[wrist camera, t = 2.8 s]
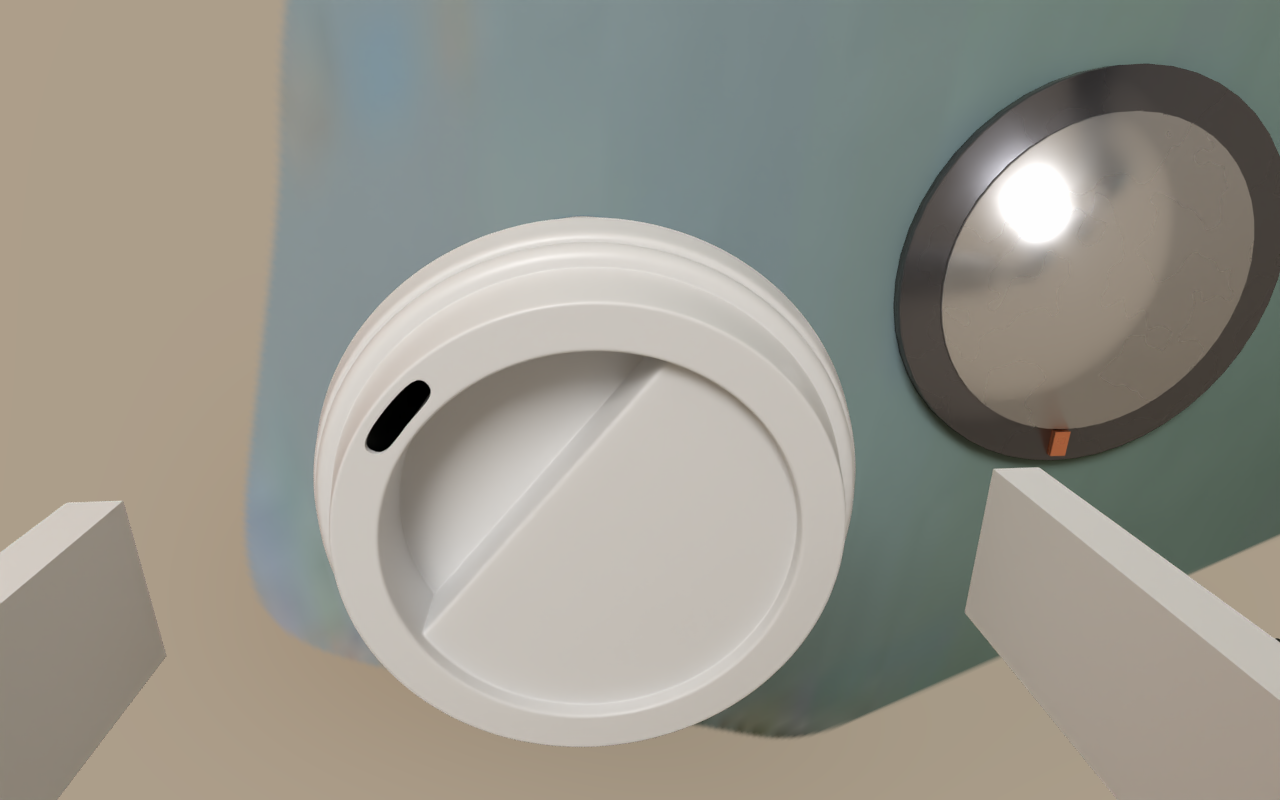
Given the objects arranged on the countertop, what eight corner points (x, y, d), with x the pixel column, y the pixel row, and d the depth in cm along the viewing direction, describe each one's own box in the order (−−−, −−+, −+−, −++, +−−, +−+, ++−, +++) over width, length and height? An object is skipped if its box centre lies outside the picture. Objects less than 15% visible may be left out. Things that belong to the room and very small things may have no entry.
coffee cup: (645, 112, 23) (753, 100, 9) (762, 364, 26) (974, 640, 12) (386, 253, 24) (119, 442, 10) (532, 479, 27) (488, 858, 13)
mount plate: (925, 61, 23) (937, 59, 22) (1329, 67, 24) (1354, 66, 23) (871, 458, 28) (879, 468, 27) (1207, 448, 29) (1224, 457, 28)
